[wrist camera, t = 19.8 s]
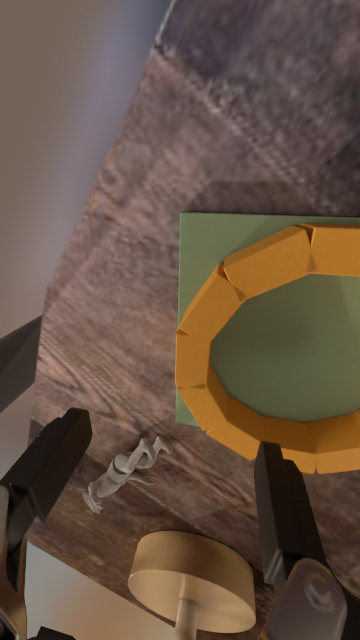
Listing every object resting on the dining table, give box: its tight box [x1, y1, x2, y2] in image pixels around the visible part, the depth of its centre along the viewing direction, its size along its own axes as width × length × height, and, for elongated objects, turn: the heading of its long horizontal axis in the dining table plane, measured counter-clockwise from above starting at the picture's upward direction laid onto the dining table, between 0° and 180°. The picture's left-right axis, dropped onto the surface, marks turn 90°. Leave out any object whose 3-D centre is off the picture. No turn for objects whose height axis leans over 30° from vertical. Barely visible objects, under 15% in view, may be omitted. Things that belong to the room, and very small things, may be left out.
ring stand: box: [128, 531, 256, 640], centre depth 31 cm, size 17×17×10 cm
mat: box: [176, 212, 360, 427], centre depth 17 cm, size 18×18×1 cm
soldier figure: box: [82, 435, 173, 514], centre depth 25 cm, size 8×5×12 cm
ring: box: [175, 223, 360, 474], centre depth 16 cm, size 17×17×3 cm
